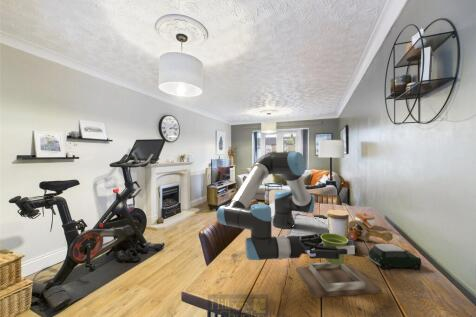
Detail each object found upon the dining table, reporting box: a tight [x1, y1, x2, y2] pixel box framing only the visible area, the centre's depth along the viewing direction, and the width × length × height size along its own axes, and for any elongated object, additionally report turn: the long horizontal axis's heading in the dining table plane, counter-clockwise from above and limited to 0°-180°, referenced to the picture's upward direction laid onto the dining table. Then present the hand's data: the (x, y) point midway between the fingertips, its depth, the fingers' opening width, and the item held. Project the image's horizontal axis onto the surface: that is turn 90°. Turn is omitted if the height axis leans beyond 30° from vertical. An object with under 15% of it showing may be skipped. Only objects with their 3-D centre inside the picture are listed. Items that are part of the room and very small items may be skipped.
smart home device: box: [312, 214, 328, 219], centre depth 143 cm, size 8×2×20 cm
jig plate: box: [295, 261, 383, 299], centre depth 74 cm, size 24×16×3 cm, turn 95°
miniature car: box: [367, 243, 423, 271], centre depth 84 cm, size 9×18×8 cm, turn 88°
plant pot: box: [321, 232, 349, 265], centre depth 74 cm, size 9×9×9 cm
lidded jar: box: [354, 212, 375, 229], centre depth 128 cm, size 11×11×9 cm
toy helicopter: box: [347, 213, 394, 243], centre depth 106 cm, size 8×21×14 cm, turn 39°
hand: (345, 244), depth 74 cm, fingers closed on plant pot, 8 cm apart
